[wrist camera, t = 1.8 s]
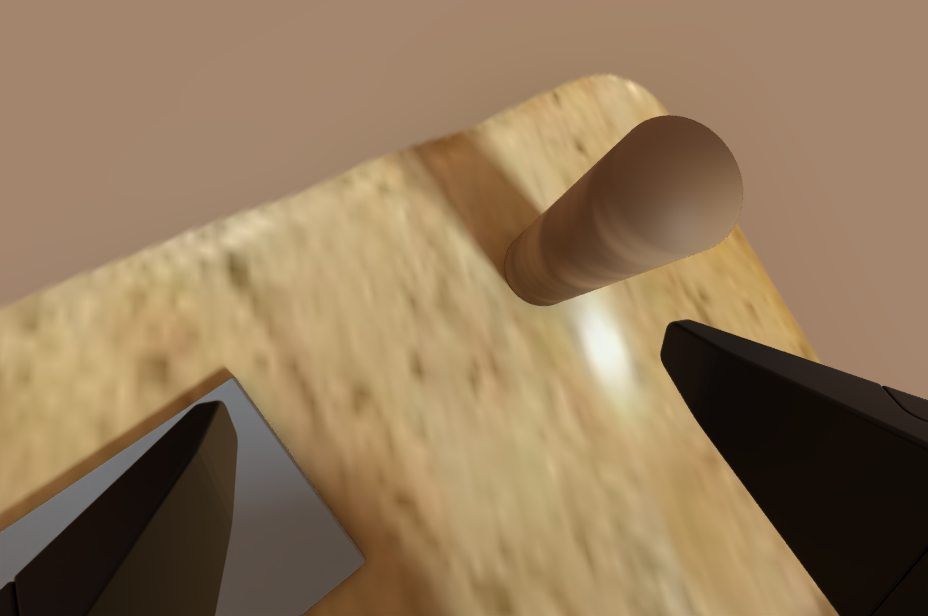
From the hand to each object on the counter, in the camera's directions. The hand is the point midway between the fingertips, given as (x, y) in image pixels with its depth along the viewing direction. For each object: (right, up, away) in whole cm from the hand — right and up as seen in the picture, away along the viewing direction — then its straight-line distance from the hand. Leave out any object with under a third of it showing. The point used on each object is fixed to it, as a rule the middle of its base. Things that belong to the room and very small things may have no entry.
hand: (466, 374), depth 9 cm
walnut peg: (+4, +4, +17) cm, 18 cm away
